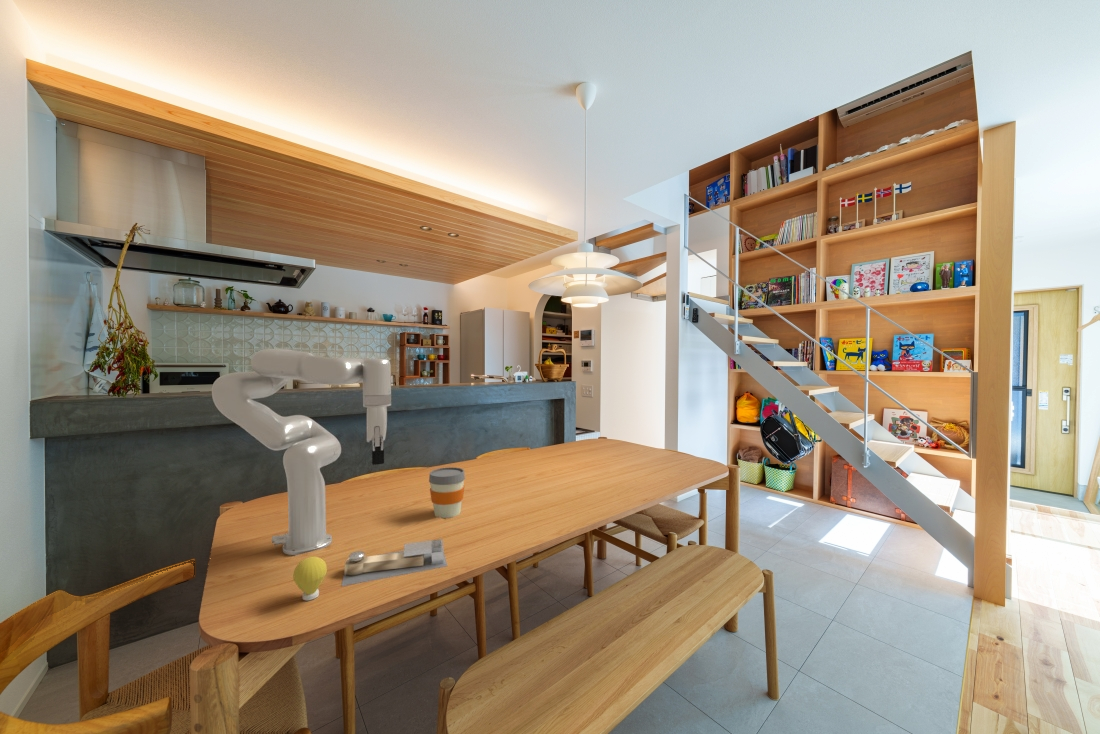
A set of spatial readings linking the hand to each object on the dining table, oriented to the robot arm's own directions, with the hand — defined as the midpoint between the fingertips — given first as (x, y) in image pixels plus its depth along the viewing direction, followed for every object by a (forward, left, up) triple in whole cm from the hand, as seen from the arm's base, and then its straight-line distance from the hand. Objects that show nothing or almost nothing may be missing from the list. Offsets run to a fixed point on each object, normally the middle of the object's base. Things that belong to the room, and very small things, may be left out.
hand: (378, 463), depth 118 cm
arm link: (+2, -14, -24) cm, 28 cm away
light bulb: (-14, -22, -25) cm, 36 cm away
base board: (+5, -13, -25) cm, 29 cm away
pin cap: (-5, -14, -21) cm, 26 cm away
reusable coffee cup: (+22, +20, -25) cm, 39 cm away
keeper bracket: (+11, -15, -24) cm, 31 cm away
